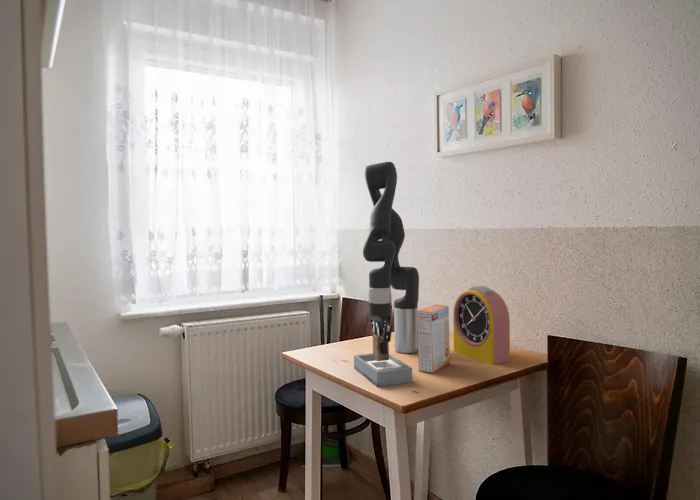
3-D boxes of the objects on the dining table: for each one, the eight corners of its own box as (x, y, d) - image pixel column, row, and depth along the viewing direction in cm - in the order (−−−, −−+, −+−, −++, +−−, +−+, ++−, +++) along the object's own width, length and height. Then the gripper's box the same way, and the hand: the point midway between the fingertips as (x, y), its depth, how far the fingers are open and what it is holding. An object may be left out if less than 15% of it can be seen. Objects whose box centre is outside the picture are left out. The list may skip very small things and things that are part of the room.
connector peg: (384, 356, 158) (383, 333, 158) (388, 359, 154) (388, 335, 154) (373, 358, 157) (372, 334, 157) (377, 361, 153) (377, 336, 153)
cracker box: (435, 361, 170) (434, 304, 170) (450, 363, 167) (450, 305, 166) (417, 371, 159) (416, 309, 158) (433, 374, 156) (432, 311, 155)
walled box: (385, 364, 168) (385, 351, 168) (412, 381, 148) (412, 367, 148) (354, 368, 164) (353, 355, 164) (377, 386, 144) (376, 372, 144)
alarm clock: (452, 351, 183) (452, 284, 182) (470, 348, 188) (470, 282, 186) (492, 364, 165) (491, 289, 164) (511, 360, 169) (510, 287, 168)
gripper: (399, 303, 149) (400, 356, 150) (382, 297, 163) (383, 346, 164) (377, 304, 147) (378, 359, 148) (361, 298, 160) (362, 348, 161)
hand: (381, 352), depth 156 cm, fingers closed on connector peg, 4 cm apart
